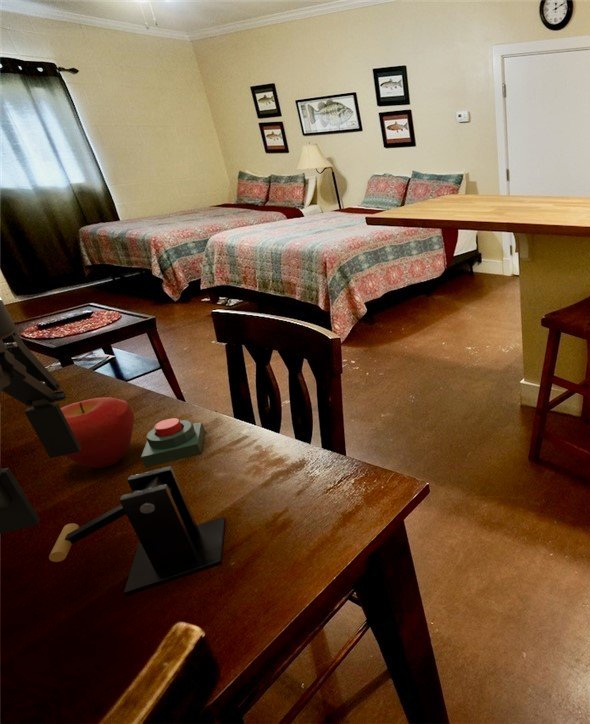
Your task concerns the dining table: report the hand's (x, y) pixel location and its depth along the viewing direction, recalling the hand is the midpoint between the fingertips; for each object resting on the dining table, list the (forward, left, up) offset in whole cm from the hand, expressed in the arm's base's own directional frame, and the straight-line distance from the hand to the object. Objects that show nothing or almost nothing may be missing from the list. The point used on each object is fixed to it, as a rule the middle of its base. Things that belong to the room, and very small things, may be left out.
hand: (45, 486), depth 52 cm
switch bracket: (+8, +1, -16) cm, 18 cm away
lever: (+4, +1, -8) cm, 9 cm away
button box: (+4, +31, -16) cm, 35 cm away
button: (+4, +31, -13) cm, 34 cm away
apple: (-6, +32, -16) cm, 37 cm away
